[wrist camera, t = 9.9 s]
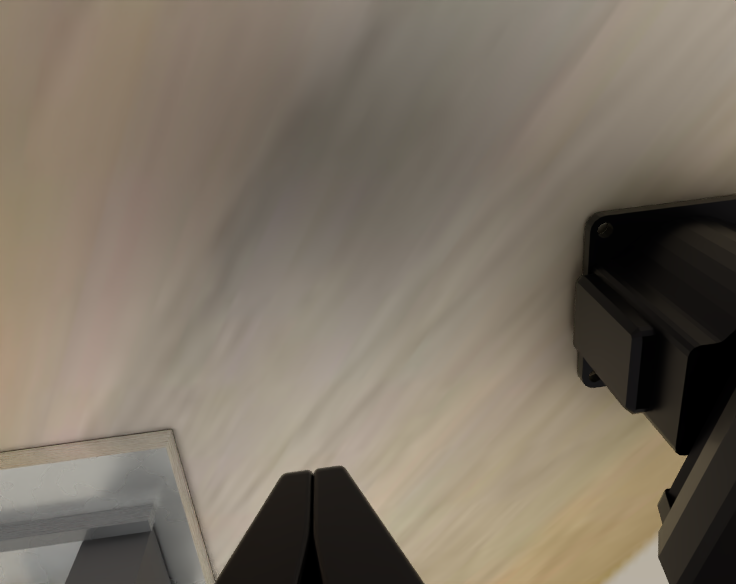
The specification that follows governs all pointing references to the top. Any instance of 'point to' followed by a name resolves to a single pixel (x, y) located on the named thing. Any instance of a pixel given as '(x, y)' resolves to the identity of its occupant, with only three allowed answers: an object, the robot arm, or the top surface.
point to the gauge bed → (96, 506)
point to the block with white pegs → (119, 561)
